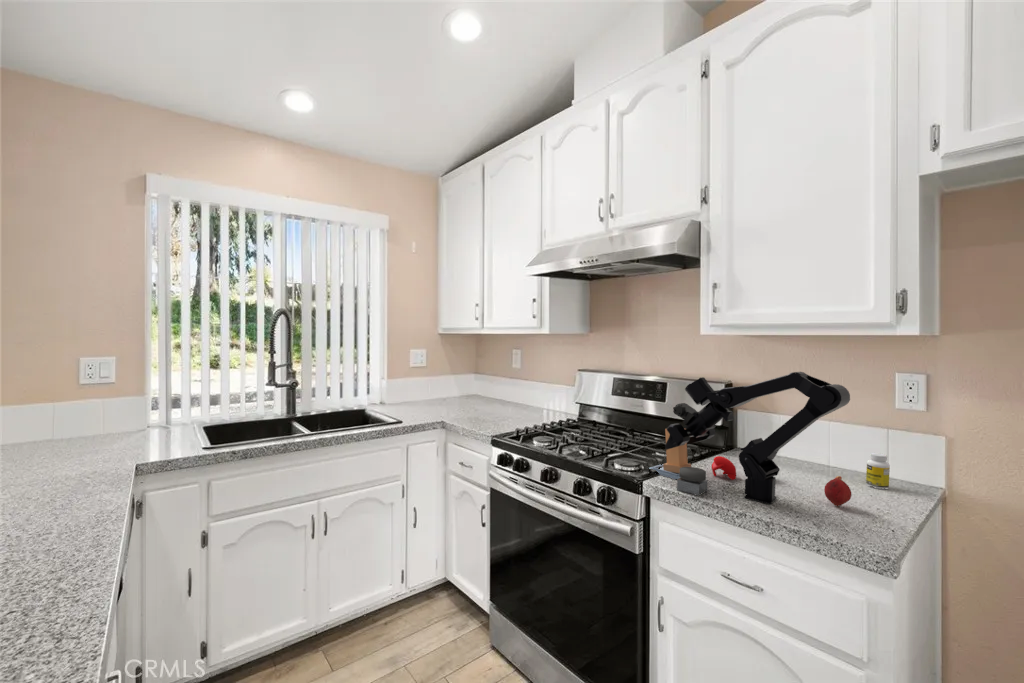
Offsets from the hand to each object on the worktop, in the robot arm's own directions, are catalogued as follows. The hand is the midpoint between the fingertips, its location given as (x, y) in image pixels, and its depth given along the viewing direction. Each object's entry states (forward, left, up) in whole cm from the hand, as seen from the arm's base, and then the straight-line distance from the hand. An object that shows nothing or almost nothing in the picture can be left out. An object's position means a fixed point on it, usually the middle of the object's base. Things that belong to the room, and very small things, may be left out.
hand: (674, 446), depth 149 cm
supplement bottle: (-49, -32, -9) cm, 59 cm away
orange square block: (-1, 0, -7) cm, 7 cm away
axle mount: (-11, +12, -9) cm, 18 cm away
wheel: (-11, +12, -8) cm, 18 cm away
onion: (-43, -4, -9) cm, 44 cm away
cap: (-12, -9, -9) cm, 18 cm away
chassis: (0, 0, -9) cm, 9 cm away
